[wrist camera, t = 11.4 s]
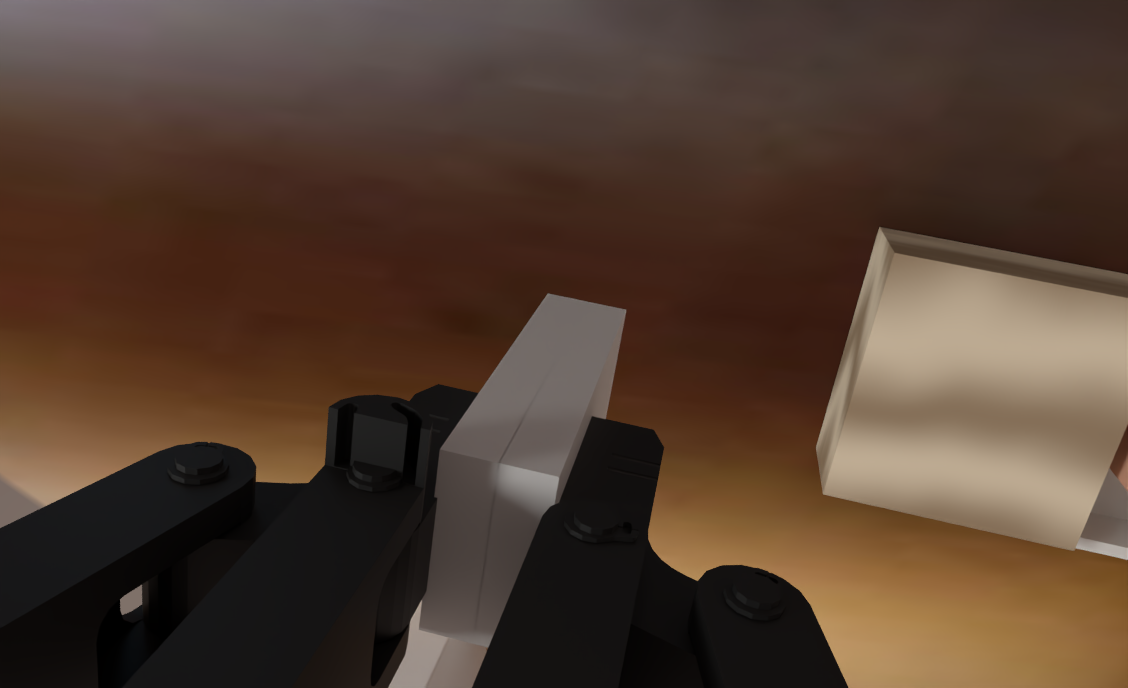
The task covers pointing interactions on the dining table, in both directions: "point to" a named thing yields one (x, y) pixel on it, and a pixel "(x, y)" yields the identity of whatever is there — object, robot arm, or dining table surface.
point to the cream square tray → (979, 388)
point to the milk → (437, 660)
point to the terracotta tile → (1121, 461)
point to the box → (1108, 521)
